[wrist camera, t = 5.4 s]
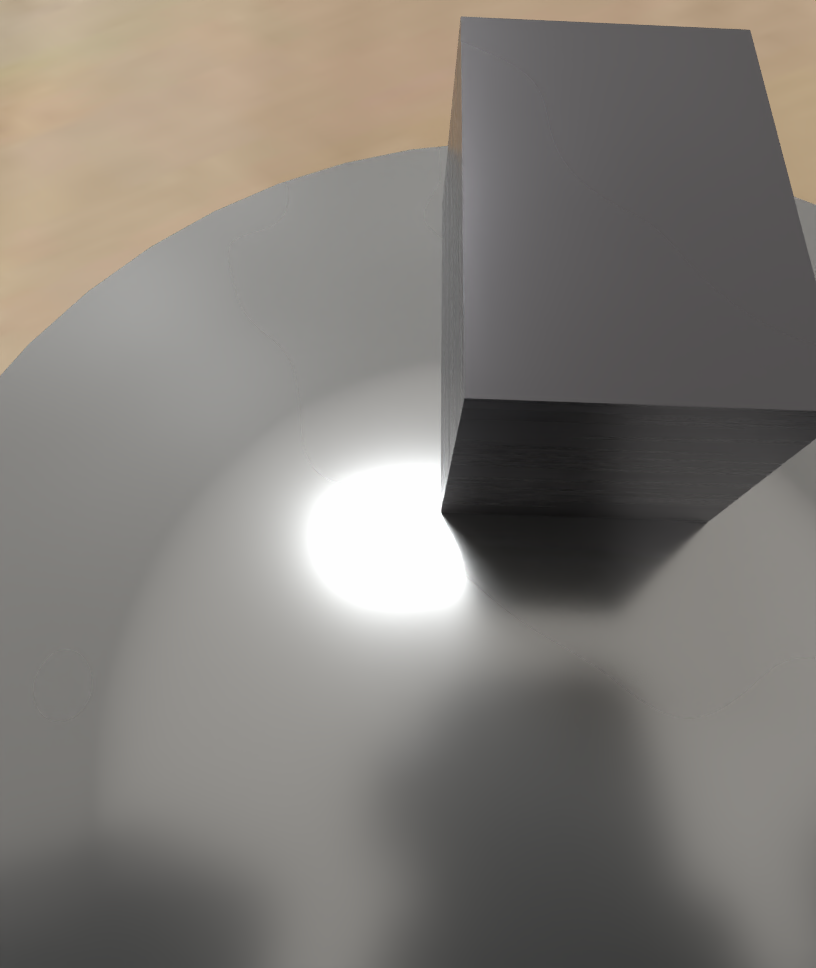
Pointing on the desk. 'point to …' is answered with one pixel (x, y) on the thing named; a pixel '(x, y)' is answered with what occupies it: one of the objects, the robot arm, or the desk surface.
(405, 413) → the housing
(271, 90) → the desk surface
